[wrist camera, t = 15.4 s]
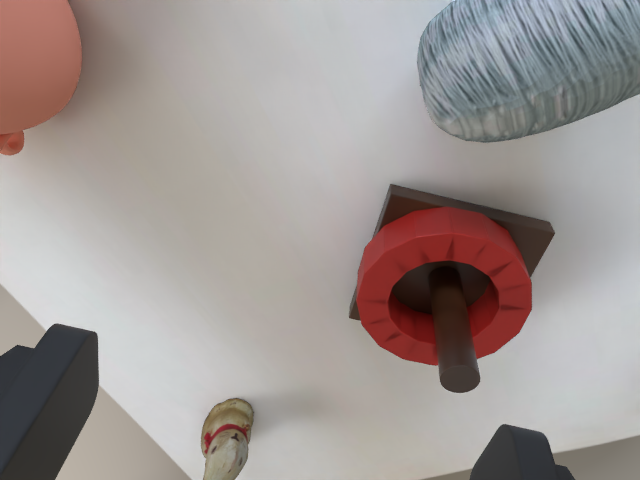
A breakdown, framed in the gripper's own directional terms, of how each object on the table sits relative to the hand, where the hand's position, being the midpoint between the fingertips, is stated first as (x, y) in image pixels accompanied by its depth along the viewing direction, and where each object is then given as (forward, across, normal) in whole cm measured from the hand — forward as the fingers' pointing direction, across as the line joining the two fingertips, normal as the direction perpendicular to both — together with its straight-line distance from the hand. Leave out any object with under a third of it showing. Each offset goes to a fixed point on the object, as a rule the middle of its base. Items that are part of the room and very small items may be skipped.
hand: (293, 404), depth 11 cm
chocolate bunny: (+28, +3, +39) cm, 48 cm away
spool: (+28, -10, -3) cm, 30 cm away
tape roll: (+27, -10, +15) cm, 32 cm away
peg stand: (+28, -11, +15) cm, 34 cm away
